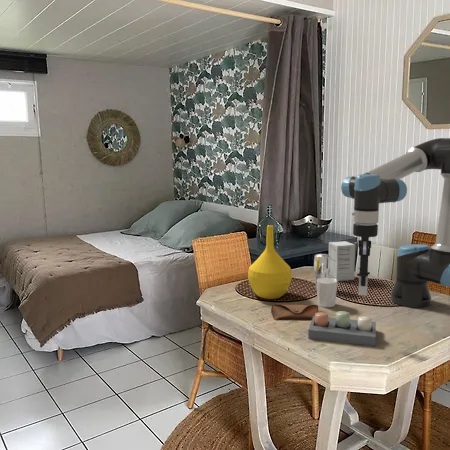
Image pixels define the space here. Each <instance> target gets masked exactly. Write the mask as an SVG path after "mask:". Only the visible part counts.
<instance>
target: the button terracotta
mask: <svg viewBox="0 0 450 450" xmlns="http://www.w3.org/2000/svg"><path fill="white" fill-rule="evenodd" d="M328 317H329V314H328V313H327V312H321V311H318V313H315V326H322V327H328Z"/></svg>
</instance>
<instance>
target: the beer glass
mask: <svg viewBox="0 0 450 450" xmlns="http://www.w3.org/2000/svg"><path fill="white" fill-rule="evenodd" d="M313 269H314V276H315V277H314V278H315V284H314V290H316V291H317V279H319V278H330V277H329V272H330V255H329V254H327V253H316V254H314V259H313Z"/></svg>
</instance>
